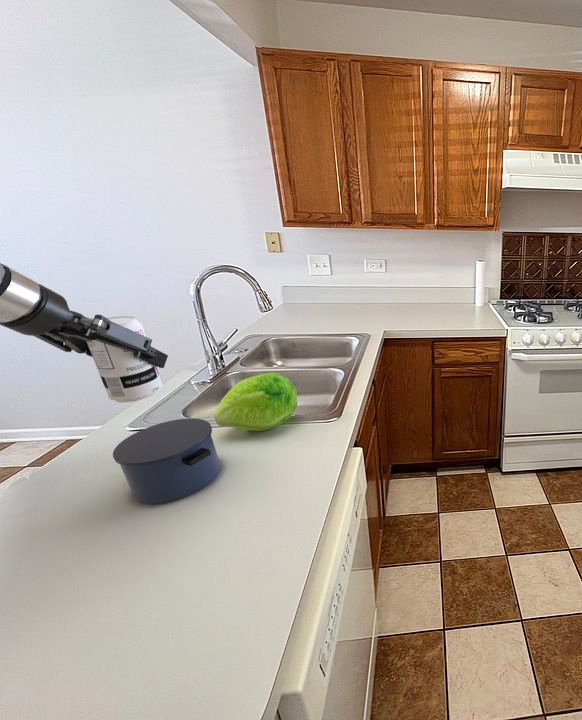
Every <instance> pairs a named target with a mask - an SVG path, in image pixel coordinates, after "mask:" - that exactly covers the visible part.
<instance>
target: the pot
mask: <svg viewBox="0 0 582 720" xmlns="http://www.w3.org/2000/svg"><path fill="white" fill-rule="evenodd" d="M212 432H213V428H212V425H211V423H210V422H209V421H208V420H205V419H203V418H195V417H193V418H192V417H191V418H179V419H174V420H168V421H165V422H160V423H157V424H154V425H151V426H148V427H146V428H143V429H140V430H139V431H137V432H134V433H133V434H130V435H129V436H127V437H126V438H124V439H123V440H122V441H120V442H119V443H118V444H117V445H116V446H115V448H114V449H113V451H112V458H113V460H114V462H115V463H116V464H118V465H119V466H120V468H121V470H122V472H123V475H124V476H125V480H126V481H127V484H128V487H129V489H130V491H131V493H132V496H133V498H134V500H135V501H136V502H138V503H139V504H142V505H148V506H150V505H151V506H152V505H153V506H156V505H164V504H168V503H174V502H175V501H176V502H177V501H179V500H182V499H185V498H188V497H190V496H192V495H194V494H196V493H198V492H199V491H201V490H203V489H204V488H206V487H207V486H209V485H210V484H211V483H213V481H214V480H215V479H217V477H218V476H219V474H220V472H221V469H222V467H221V462H220V460H219V455H218V453H217V450H216V446H215V443H214V439H213V437H212Z"/></svg>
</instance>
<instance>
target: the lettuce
mask: <svg viewBox="0 0 582 720" xmlns="http://www.w3.org/2000/svg"><path fill="white" fill-rule="evenodd" d="M297 407H298V390H297V389H296V387H295V386H294V385H293V383H292V382H291V381H290V379H289V378H287V377H285V376H283V375H282V374H280V373H278V372H263V373H259V374H256V375H252V376H248V377H246V378H243V379H241V380H239V381H238V382H236V384H234V385H233V386H232V387H231V389H229V390H228V391H227V392H226V394H225V395H224V396H223V397H222V399H221V400H220V402H219V403H218V405H217V406H216V408H215V410H214V413H213V418H214V421H215V424H216V425H217V426H219V427H229V428H234V429H239V430H246V431H257V432H261V431H269V430H272V429H274V428H276V427H278V426H280V425H282V424H285V422H286V421H288V420H289V419H290V418H291V417H292V416H293V415H294V413H295V411H296V409H297Z"/></svg>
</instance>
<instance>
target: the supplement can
mask: <svg viewBox="0 0 582 720" xmlns="http://www.w3.org/2000/svg"><path fill="white" fill-rule="evenodd" d="M106 318H107V319H109V320H110V321H112V322H114V323H116V324H118V325H121V326H123V327H125V328H127V329H130V330H132V331H134V332H136V333H138V334H141V335H143V336H145V337H147V334H146V332H145V329H144V326H143V324H142V323H141V322H139V320H138V319H137V318H136V317H135V316H132V315H121V316H120V315H119V316H112V317H111V316H110V317H106ZM90 330H91V329H89V330H88V333H87V334H86V335H87V336H88V334H89V332H90ZM86 342H87V344H88V347H89V349H90V352H91V354H92V357H91V358H92V359H93V361H94V364H95V366H96V369H97V371H98V375H99V376H100V379H101V381H102V384H103V386H104V389H105V392H106V394H107V396H108V398H109V399H110V400H111V401H114V402H116V403H121V404H122V403H132V402H137V401H142V400H145V399H148V398H150V397H153V396H155V395H156V394H158V393H159V392H160V390H161V389H162V388H163V382H162V379H161V376H160V373H159V370H158V367H157V366H155V365H153V364H151V363H149V362H147V361H144V360H142V359H140V358H136V357H134V355H133V352H130V351H126V350H123V349H120V348H117V347H114V346H111V345H108V344H105V343H101V342H98V341H95V340H93V341H86Z"/></svg>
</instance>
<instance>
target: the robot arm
mask: <svg viewBox="0 0 582 720" xmlns="http://www.w3.org/2000/svg"><path fill="white" fill-rule="evenodd" d="M107 318H108V317H105V316H103V315H102V314H94V317H93V318H89V317H87V316H84V315H83V314H82V313H80V312H77V311H74V310H70V307H69V304H68V301H67V300H66V298H65V297H64V296H63V295H61V294H59V293H57V292H55V291H54V290H52V289H50V288H48V287H47V286H44V285H42V284H40V283H38V282H37V281H36V280H34V279H32V278H30V277H28V276H27V275H25V274H23V273H21V272H19V271H17V270H15V269H14V268H12V267H10V266H8V265H6V264H3V263H1V262H0V326H2V327H4V328H7V329H9V330H11V331H14V332H16V333H19V334H22V335H24V336H29V337H30V336H33V337H35V338H37V339H39V340H41V341H43V342H45V343H47V344H48V345H50V346H53V347H55V348H57V349H59V350H60V351H63V352H65V353H72V351H73V352H75V353H77V354H79V355H81V354H82V355H83V354H85V355H86V356H88V357H91V358H93V357H92V354H91V352H90V349H89V347H88V344H87V342H86V341H93V340H95V341H98V342H101V343H105V344H108V345H111V346H114V347H117V348H120V349H123V350H126V351H130V352H133V355H134V357H136V358H140V359H142V360H144V361H147V362H149V363H151V364H153V365H155V366H156V367H157V368H159V369H164V368H165V366H166V363H167V360H168V357H169V355H168V354H166V353H164V352H162V351H161V350H158V348H157V349H156V348H155V347H153V346H152V342H153V339H151V338H150V337H147V336H146V337H145V336H143V335H141V334H138V333H136V332H134V331H132V330H130V329H127V328H125V327H123V326H121V325H118V324H116V323H114V322H112V321H110V320H109V319H107ZM89 329H91V330H90V332H89V334H88V336H87V335H86V334H87V333H88V330H89Z"/></svg>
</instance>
